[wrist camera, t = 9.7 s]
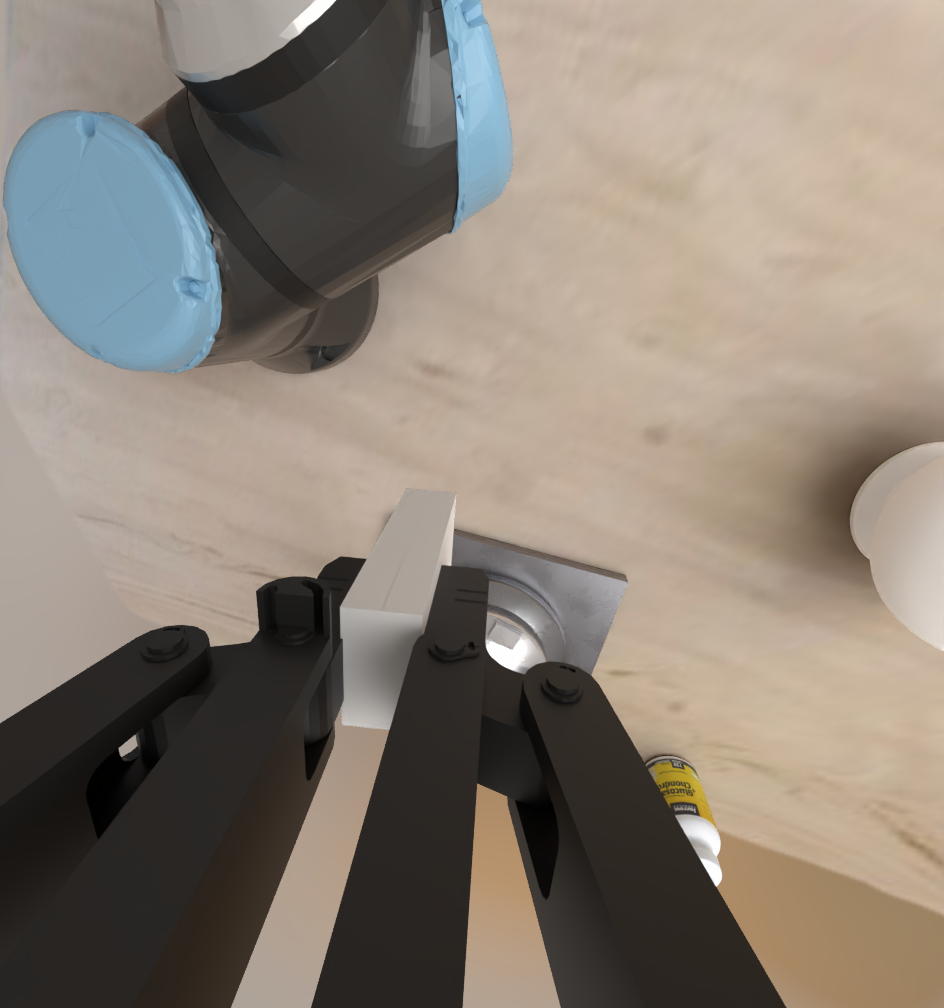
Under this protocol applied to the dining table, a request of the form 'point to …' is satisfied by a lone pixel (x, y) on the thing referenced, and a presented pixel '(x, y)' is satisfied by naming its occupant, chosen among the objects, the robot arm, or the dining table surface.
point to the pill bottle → (689, 808)
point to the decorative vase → (906, 537)
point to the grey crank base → (547, 595)
